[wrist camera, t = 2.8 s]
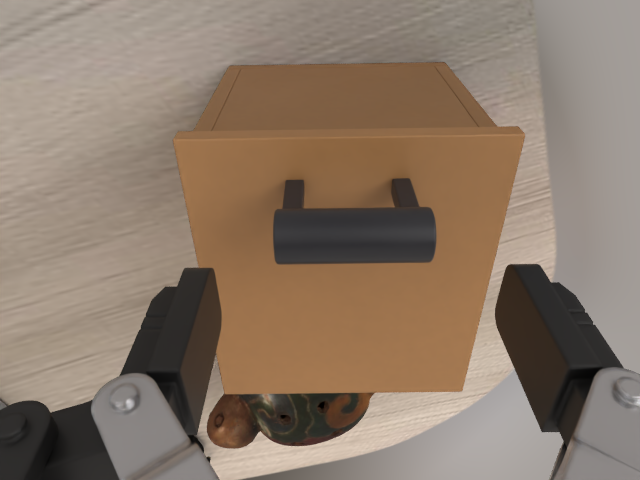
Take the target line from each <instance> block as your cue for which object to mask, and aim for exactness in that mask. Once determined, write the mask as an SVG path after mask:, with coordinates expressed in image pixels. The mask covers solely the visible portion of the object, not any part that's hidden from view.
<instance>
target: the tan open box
mask: <svg viewBox="0 0 640 480" xmlns="http://www.w3.org/2000/svg"><path fill="white" fill-rule="evenodd" d="M448 127H497V126H496V124H495V123H494V122H493V121H492V119H491V118H490V117H489V116H488V115H487V113H486V112H485V111H484V110H483V108H482V107H481V106H480V105H479V103H478V102H477V101H476V100H475V99H474V97H473V96H472V95H471V94H470V92H469V91H468V90H467V89H466V87H465V86H464V85H463V84H462V83H461V81H460V80H459V79H458V78H457V76H456V75H455V74H454V73H453V71H452V70H451V69H450V68H449V67H448V66H447V64H446V63H444V62H433V63H369V64H305V65H241V66H229V68H228V69H227V71H226V72H225V74H224V76H223V78H222V80H221V81H220V83H219V85H218V87H217V89H216V90H215V92H214V94H213V96H212V98H211V99H210V101H209V103H208V105H207V107H206V109H205V110H204V112H203V114H202V116H201V118H200V119H199V121H198V123H197V125H196V127H195V128H194V130H193V131H247V130H314V129H381V128H448Z"/></svg>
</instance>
